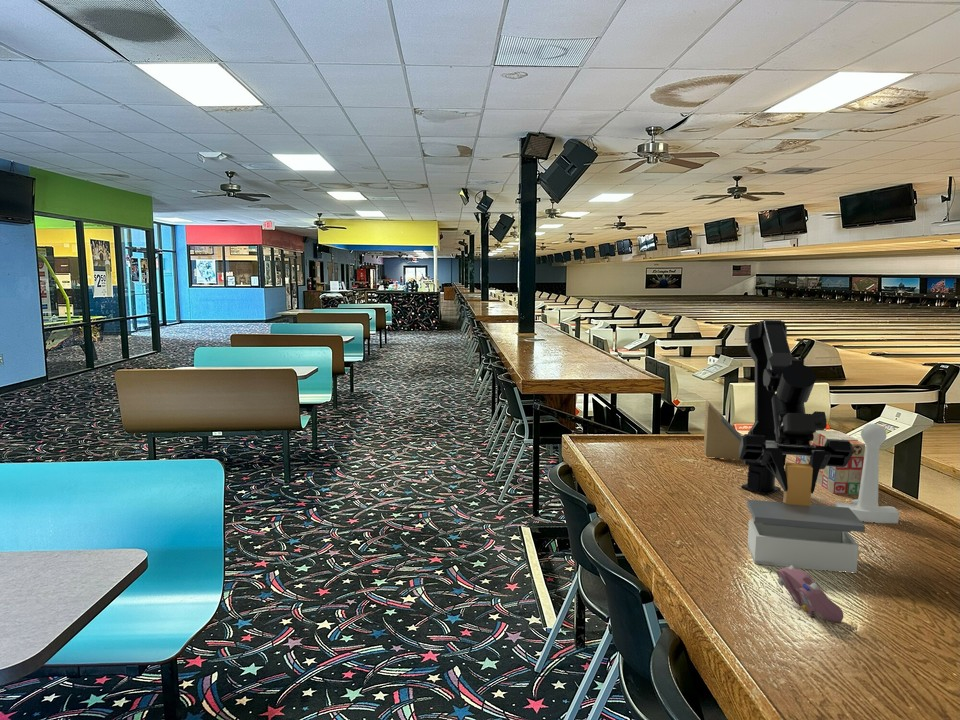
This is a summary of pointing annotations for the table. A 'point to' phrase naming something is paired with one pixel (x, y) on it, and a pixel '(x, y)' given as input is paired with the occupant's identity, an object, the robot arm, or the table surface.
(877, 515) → the joystick
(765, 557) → the tub
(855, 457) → the stack of blocks
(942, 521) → the table surface
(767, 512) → the lid
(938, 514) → the table surface
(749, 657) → the table surface
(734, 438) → the sandwich container
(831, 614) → the video game controller
